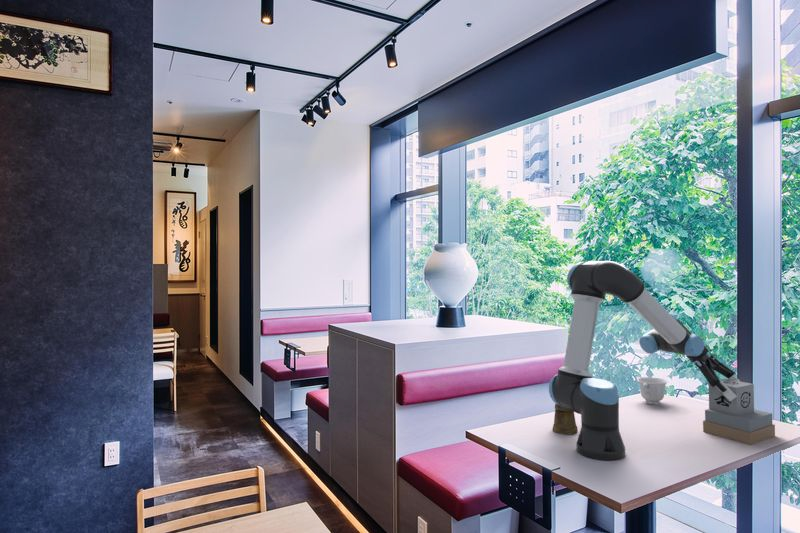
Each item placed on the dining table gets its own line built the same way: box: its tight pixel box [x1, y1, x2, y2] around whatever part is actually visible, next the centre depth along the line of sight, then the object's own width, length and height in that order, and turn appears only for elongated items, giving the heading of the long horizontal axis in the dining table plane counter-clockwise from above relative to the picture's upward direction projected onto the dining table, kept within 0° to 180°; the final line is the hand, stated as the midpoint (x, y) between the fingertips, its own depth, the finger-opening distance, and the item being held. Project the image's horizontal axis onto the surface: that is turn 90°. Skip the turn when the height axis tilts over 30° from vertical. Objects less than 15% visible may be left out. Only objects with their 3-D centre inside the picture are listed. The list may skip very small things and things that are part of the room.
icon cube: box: [708, 378, 755, 416], centre depth 184 cm, size 10×10×10 cm
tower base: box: [702, 408, 776, 446], centre depth 182 cm, size 16×16×8 cm
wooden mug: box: [552, 403, 578, 435], centre depth 192 cm, size 9×14×18 cm, turn 128°
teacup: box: [636, 376, 668, 405], centre depth 223 cm, size 12×15×10 cm
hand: (739, 395), depth 182 cm, fingers open, 13 cm apart
